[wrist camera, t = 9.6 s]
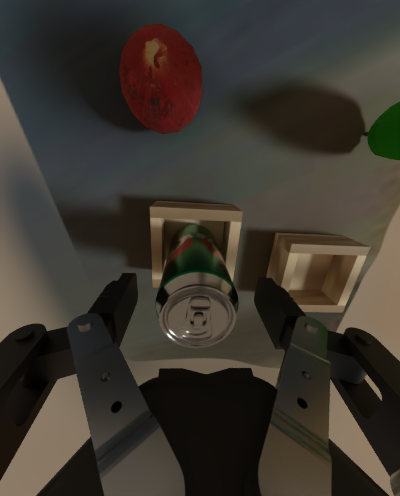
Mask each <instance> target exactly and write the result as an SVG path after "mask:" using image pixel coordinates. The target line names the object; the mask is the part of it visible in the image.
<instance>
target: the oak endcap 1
mask: <svg viewBox="0 0 400 496" xmlns="http://www.w3.org/2000/svg"><path fill="white" fill-rule="evenodd" d="M242 214H243V211H241V210H240V209H239V208H237V207H236V206H235V205H225V204H206V203H187V202H169V201H156V202H155V203H154V204H152V205H151V206H150V225H151V251H152V277H153V287H158V288H159V286H160V282H161V279H162V275H163V271H164V267H165V264H166V260H167V256H168V252H169V249H170V245H171V241H172V238H173V236H174V235H175V233H176V232H177V231H178V230H179V229H181V228H182V227H184V226H187V225H201V226H203V227H205V228H207V229H208V230H209V231H211V233H212V234H213V235H214V237H215V240H216V242H217V245H218V247H219V250H220V252H221V255H222V257H223V260H224V262H225V265H226V267H227V270H228V272H229V275H230V277H231V280H232V282H233V276H234V269H235V262H236V255H237V248H238V242H239V235H240V228H241V221H242Z"/></svg>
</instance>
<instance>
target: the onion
mask: <svg viewBox="0 0 400 496" xmlns="http://www.w3.org/2000/svg"><path fill="white" fill-rule="evenodd" d="M119 73H120V81H121V88H122V93H123V95H124V97H125V99H126V101H127V103H128V106H129V108H130V110H131V112H132V114H133V115H134V116H135V117H136V118H137V119H138V120H139V121H140V122H141V123H142V124H143V125H144V126H145V127H146V128H148V129H151V130H154V131H156V132H159V133H162V134H166V133H173V132H178V131H179V130H181V129H182V128H184V127H185V126H186V125H188V124H189V123H190V122H191V120H192V119H193V117H194V116H195V114H196V112H197V111H198V109H199V105H200V100H201V96H202V74H201V65H200V63H199V61H198V59H197V56H196V54H195V52H194V50H193V47H192V46H191V45H190V44H189V43H188V42H187V41H186V40H185V39H184V38H183V37H182V36H181V35H180V34H179V33H178V32H177V31H176V30H174V29H171V28H169V27H167V26H165V25H163V24H156V25H145V26H144V27H142V28H141V29H139V30H138V31H136V32H134V33H133V34H131V36H130V37H129V39H128V41H127V43H126V45H125V46H124V48H123V50H122V53H121V60H120V68H119Z"/></svg>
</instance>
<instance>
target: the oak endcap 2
mask: <svg viewBox="0 0 400 496" xmlns="http://www.w3.org/2000/svg"><path fill="white" fill-rule="evenodd" d="M369 249H370V247H369V246H367V245H364V244H362V243H359V242H357V241H354V240H352V239H350V238H347V237H345V236H339V235H316V234H293V233H276V234H275V239H274V243H273V248H272V252H271V257H270V261H269V266H268V271H267V275H266V277H267V278H272V279H273V280H274V282H275V283H276V284H277V285H280V286H281V287H283V288H284V289H285V290H287V292H288V293H289V294H290V296H291V297H292V298H293V299H294V301H295V302H296V303H297V305H298V306H299V307H300V308H301V310H302V311H303V312H343V310H344V308H345V305H346V303H347V301H348V298H349V296H350V294H351V291H352V289H353V287H354V284H355V282H356V280H357V277H358V275H359V273H360V270H361V268H362V266H363V263H364V261H365V259H366V256H367V254H368V252H369Z"/></svg>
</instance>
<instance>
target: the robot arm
mask: <svg viewBox="0 0 400 496" xmlns="http://www.w3.org/2000/svg"><path fill="white" fill-rule="evenodd" d="M137 300H138V289H137V276H136V274H135V273H123V274H122V275H121V277H120V278H119V280H118V281H112V282H111V283H109V284H108V285H107V286H106V287H105V289H104V290H103V292H102V293H101V294H100V296H99V297H98V298H97V300H96V301H95V303H94V304H93V306H92V307H91V308H90V310H89V311H88V313H87V314H83V315H81V316H78V317H77V318H75V319H74V320H72V321H71V322H70V323H69V325H68V327H64V328H60V329H55V330H51V331H46V328H45V326H44V325H42V324H30V325H26V326H23V327H21V328H19V329H17V330H15V331H13V332H12V333H10V334H9V335H8V336H7V337H6V338H5V339H4V340H3V341H2V342H1V343H0V480H1V479H2V477H3V475H4V473H5V472H6V470H7V468H8V466H9V464H10V463H11V461H12V459H13V457H14V455H15V454H16V452H17V450H18V448H19V447H20V445H21V443H22V441H23V440H24V438H25V436H26V434H27V433H28V431H29V429H30V427H31V425H32V424H33V422H34V420H35V418H36V416H37V415H38V413H39V411H40V409H41V408H42V406H43V404H44V402H45V400H46V399H47V397H48V395H49V393H50V392H51V390H52V388H53V386H54V384H55V383H56V381H57V379H60V378H63V377H66V376H70V375H73V374H77V378H78V382H79V387H80V391H81V395H82V400H83V404H84V408H85V412H86V417H87V421H88V425H89V429H90V434H91V437H90V438H89V439H88V440H87V441H86V442H85V443H84V445H82V447H81V448H80V449H79V450H78V451H77V452H76V453H75V454H74V455H73V456H72V457H71V459H70V460H69V461H68V462H67V463H66V464H65V465H64V466H63V467H62V468H61V469H60V470H59V472H58V473H57V474H56V475H55V476H54V477H53V478H52V479H51V480H50V481H49V482H48V483H47V485H46V486H45V487H44V488H43V489H42V490H41V491H40V492H39V493H38V494H37V495H36V496H389V495H388V494H387V493H386V492H385V491H384V490H383V489H382V488H381V487H379V486H378V485H377V484H376V483H375V482H374V481H373V480H372V479H371V478H370V477H369V476H368V475H367V474H366V473H365V472H364V471H363V470H362V469H361V468H360V467H359V466H358V465H356V464H355V463H354V462H353V461H352V460H351V459H350V458H349V457H348V456H347V455H346V454H345V453H344V452H343V451H342V450H341V449H340V448H339V447H338V446H337V445H336V444H335V443H333V442H332V441H331V440H330V439H329V438H328V437H329V404H330V379H331V381H332V382H333V384H334V385H335V387H336V389H337V390H338V392H339V394H340V395H341V397H342V399H343V400H344V402H345V404H346V405H347V407H348V409H349V410H350V412H351V413H352V415H353V417H354V418H355V420H356V421H357V423H358V425H359V427H360V428H361V430H362V432H363V433H364V435H365V436H366V438H367V440H368V441H369V443H370V445H371V446H372V448H373V449H374V451H375V453H376V454H377V456H378V458H379V459H380V461H381V463H382V464H383V466H384V467H385V469H386V471H387V472H388V474H389V476H390V484H391V488H392V492H393V494H394V496H400V361H399V360H398V359H397V358H395V356H393V355H392V354H391V353H390V352H389V351H388V350H387V349H386V348H385V347H384V346H383V345H382V344H381V343H380V342H379V341H378V340H377V339H376V338H375V337H374V336H372V335H371V334H369V333H367V332H365V331H363V330H361V329H357V328H347V329H346V330H345V332H344V334H340V333H336V332H332V331H328V330H327V329H326V327H325V326H324V325H323V324H322V323H321V322H319V321H318V320H316V319H314V318H311V317H308V316H306V315H305V313H304V312H303V311H302V310H301V308H300V307H299V306H298V305H297V303H296V302H295V301H294V299H293V298H292V297H291V296H290V294H289V293H288V292H287V290H285V289H284V288H283V287H281V286H280V285H277V284H276V283H275V282H274V280H273V279H272V278H267V277H260V278H259V279H258V282H257V287H256V292H255V296H254V303H255V306H256V308H257V311H258V313H259V315H260V317H261V319H262V321H263V323H264V325H265V327H266V330H267V332H268V334H269V336H270V338H271V340H272V342H273V344H274V347H275V349H284V350H285V355H284V358H283V361H282V365H281V368H280V372H279V375H278V378H277V382H276V385H275V387H274V386H273V385H271V384H269V383H268V382H266V381H264V380H262V379H260V378H257V377H254V376H253V373H252V370H251V368H228V369H225V370H221V371H218V372H214V373H211V374H202V373H198V372H194V371H191V370H186V369H183V368H182V369H181V368H180V369H179V368H176V369H175V368H174V369H173V368H172V369H171V368H170V369H159V376H158V377H156V378H153V379H151V380H148V381H147V382H145V383H143V384H142V385H140V386H139V387H138V385H137V383H136V381H135V379H134V377H133V375H132V373H131V371H130V369H129V367H128V365H127V363H126V361H125V359H124V356H123V354H122V352H121V350H120V348H119V347H120V344H121V342H122V339H123V337H124V334H125V332H126V329H127V327H128V324H129V322H130V319H131V316H132V314H133V311H134V309H135V306H136V304H137ZM366 375H368V376H369V377H370V378H371V380H372V381H373V382H374V383H375V385H376V386H377V387H378V388H379V390H380V392H381V395H382V401H381V400H380V399H379V397H378V396H377V395H376V393H375V392H374V391H373V389H372V388H371V387H370V386H369V384H368V383H367V382H366V380H365V379H364V378H365V376H366Z"/></svg>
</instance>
